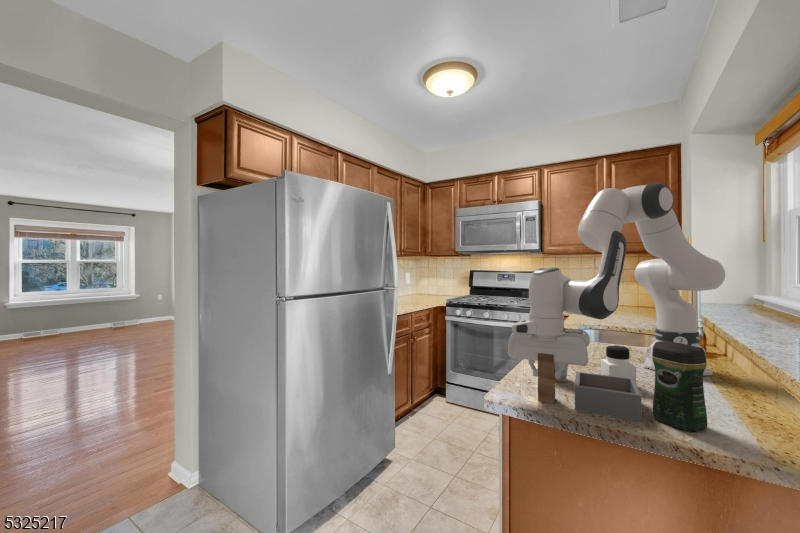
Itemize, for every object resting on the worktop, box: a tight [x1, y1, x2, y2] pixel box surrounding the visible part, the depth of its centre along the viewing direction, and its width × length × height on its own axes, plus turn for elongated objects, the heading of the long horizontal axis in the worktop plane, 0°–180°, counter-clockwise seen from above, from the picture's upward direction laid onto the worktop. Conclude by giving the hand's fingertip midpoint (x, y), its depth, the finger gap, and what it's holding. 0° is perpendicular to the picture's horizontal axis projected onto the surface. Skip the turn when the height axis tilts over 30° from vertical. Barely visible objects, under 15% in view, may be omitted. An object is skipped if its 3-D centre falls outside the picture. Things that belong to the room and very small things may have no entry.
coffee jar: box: [652, 341, 708, 432], centre depth 80 cm, size 10×8×19 cm
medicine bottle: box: [600, 344, 637, 383], centre depth 105 cm, size 7×7×12 cm
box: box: [574, 371, 642, 422], centre depth 91 cm, size 14×14×6 cm
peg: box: [537, 353, 556, 405], centre depth 95 cm, size 4×4×13 cm
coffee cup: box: [555, 363, 569, 383], centre depth 112 cm, size 8×8×12 cm
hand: (546, 377), depth 95 cm, fingers closed on peg, 4 cm apart
